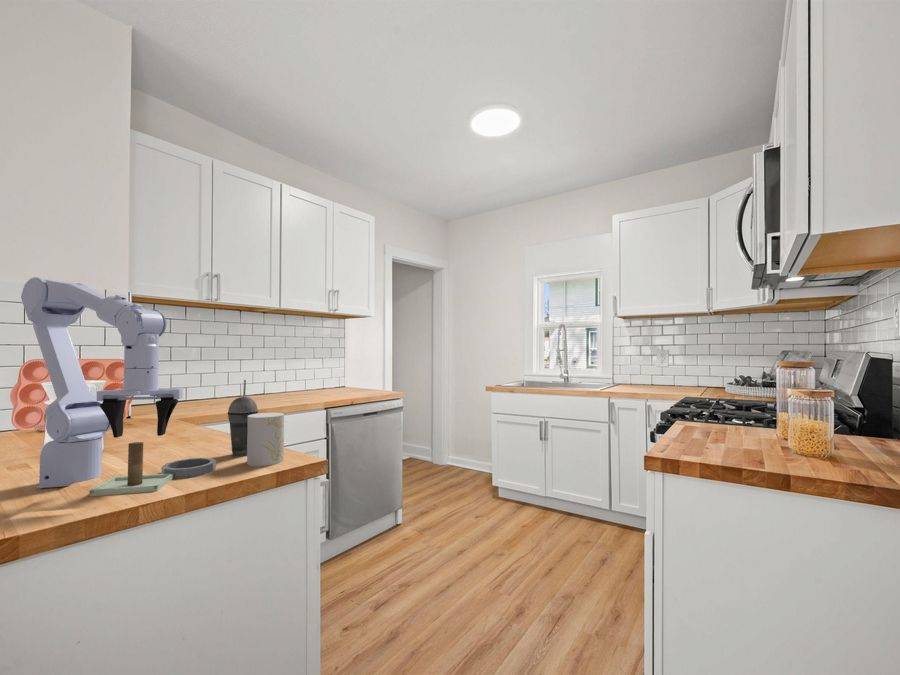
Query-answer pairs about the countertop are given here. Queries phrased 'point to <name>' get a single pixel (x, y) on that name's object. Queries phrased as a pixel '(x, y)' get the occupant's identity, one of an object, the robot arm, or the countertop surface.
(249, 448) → the cup
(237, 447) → the beverage cup
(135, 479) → the dowel
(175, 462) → the ramekin
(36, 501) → the countertop surface
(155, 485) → the tray
